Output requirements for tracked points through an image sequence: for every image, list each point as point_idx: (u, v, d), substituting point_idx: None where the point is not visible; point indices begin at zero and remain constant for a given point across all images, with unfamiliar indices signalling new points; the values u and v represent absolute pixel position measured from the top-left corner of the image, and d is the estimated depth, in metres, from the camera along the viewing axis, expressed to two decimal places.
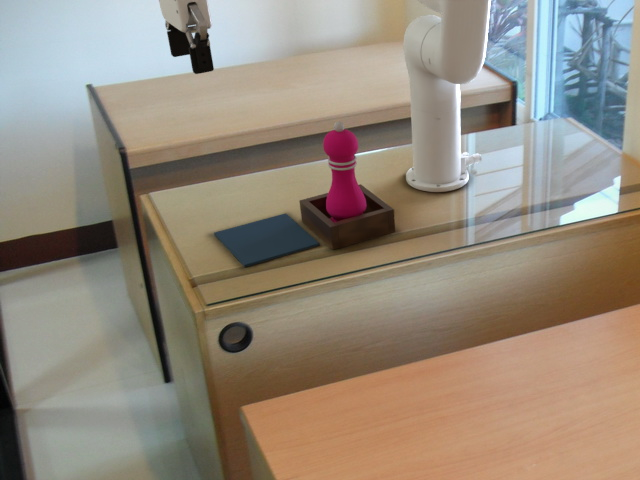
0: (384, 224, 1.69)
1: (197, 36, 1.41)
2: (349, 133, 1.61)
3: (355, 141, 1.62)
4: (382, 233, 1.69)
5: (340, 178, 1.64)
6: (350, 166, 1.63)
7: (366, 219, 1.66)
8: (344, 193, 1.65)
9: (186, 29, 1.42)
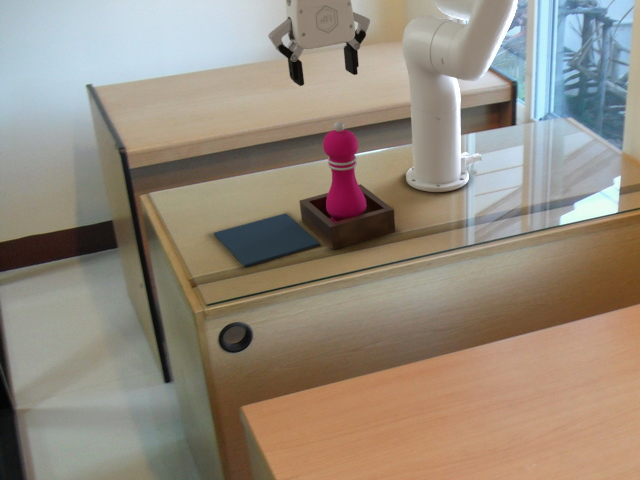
0: (384, 224, 1.69)
1: None
2: (349, 133, 1.61)
3: (355, 141, 1.62)
4: (382, 233, 1.69)
5: (340, 178, 1.64)
6: (350, 166, 1.63)
7: (366, 219, 1.66)
8: (344, 193, 1.65)
9: (290, 39, 1.50)
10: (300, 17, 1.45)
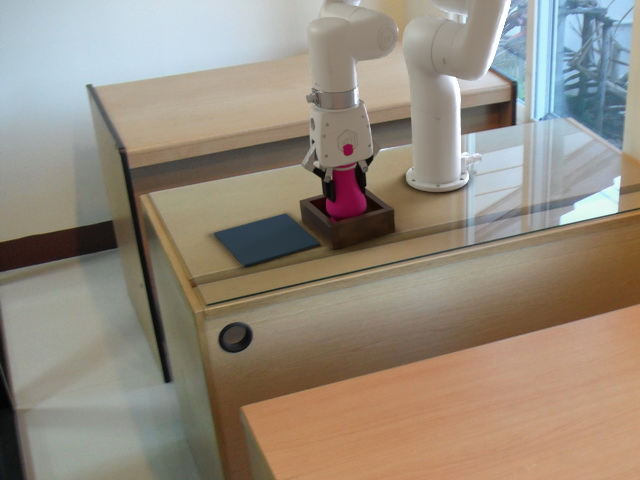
0: (384, 224, 1.69)
1: None
2: None
3: None
4: (382, 233, 1.69)
5: (340, 178, 1.64)
6: (350, 166, 1.63)
7: (366, 219, 1.66)
8: (344, 193, 1.65)
9: None
10: (323, 141, 1.58)
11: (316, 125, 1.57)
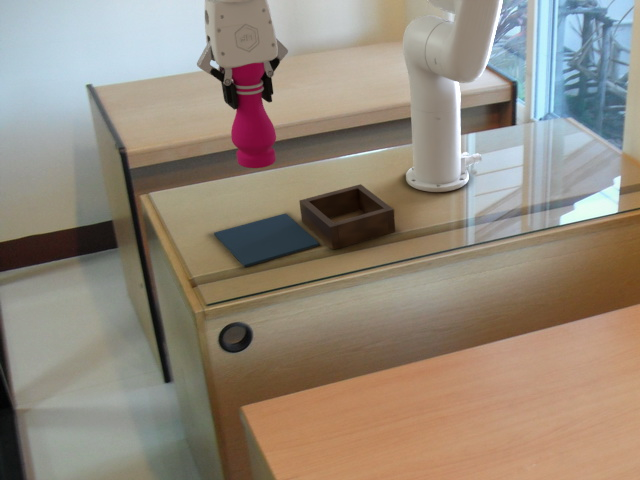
0: (384, 224, 1.69)
1: None
2: None
3: None
4: (382, 233, 1.69)
5: (244, 104, 1.51)
6: (255, 90, 1.50)
7: (366, 219, 1.66)
8: (248, 120, 1.52)
9: None
10: (218, 36, 1.42)
11: (210, 17, 1.41)
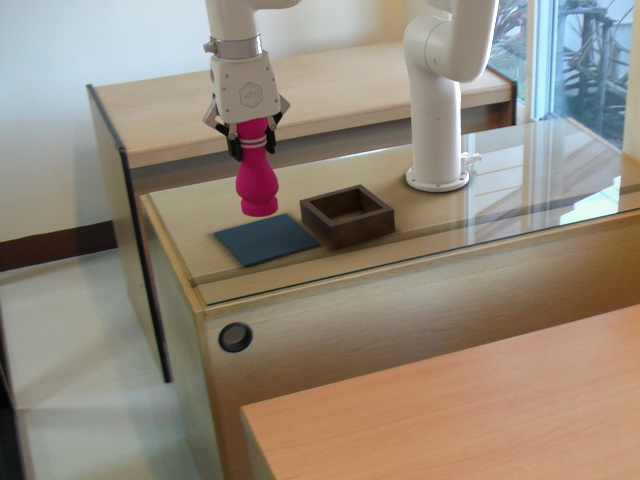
0: (384, 224, 1.69)
1: None
2: None
3: None
4: (382, 233, 1.69)
5: (248, 157, 1.56)
6: (258, 144, 1.55)
7: (366, 219, 1.66)
8: (252, 172, 1.57)
9: None
10: (223, 94, 1.47)
11: (215, 77, 1.46)
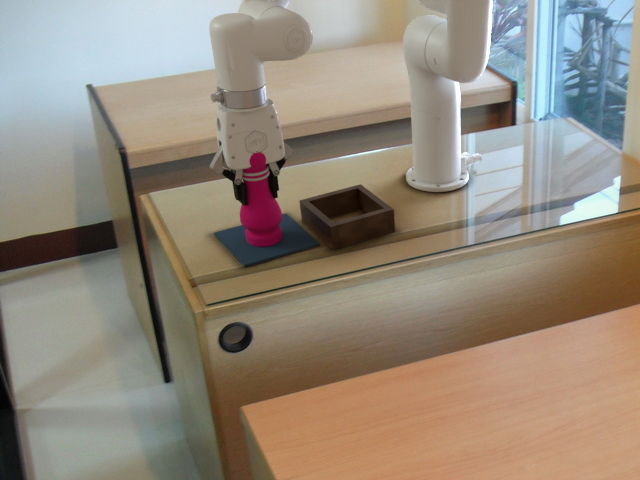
0: (384, 224, 1.69)
1: None
2: None
3: None
4: (382, 233, 1.69)
5: (251, 189, 1.59)
6: (261, 177, 1.58)
7: (366, 219, 1.66)
8: (256, 204, 1.60)
9: None
10: (229, 142, 1.52)
11: (222, 125, 1.51)
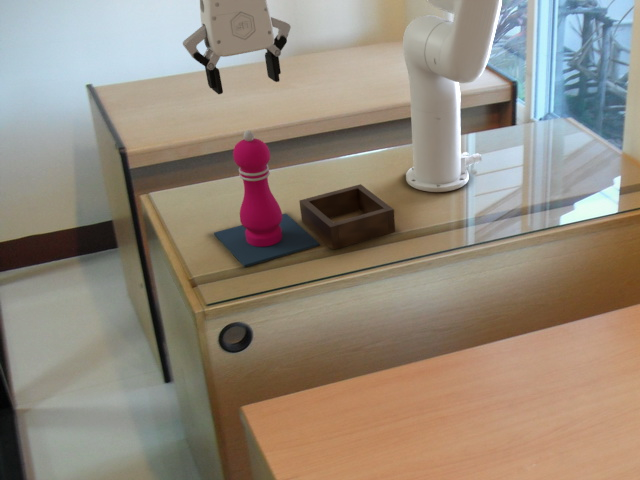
0: (384, 224, 1.69)
1: None
2: (259, 143, 1.56)
3: (265, 151, 1.56)
4: (382, 233, 1.69)
5: (251, 189, 1.59)
6: (261, 177, 1.58)
7: (366, 219, 1.66)
8: (256, 204, 1.60)
9: (206, 46, 1.46)
10: (214, 24, 1.41)
11: (205, 5, 1.40)
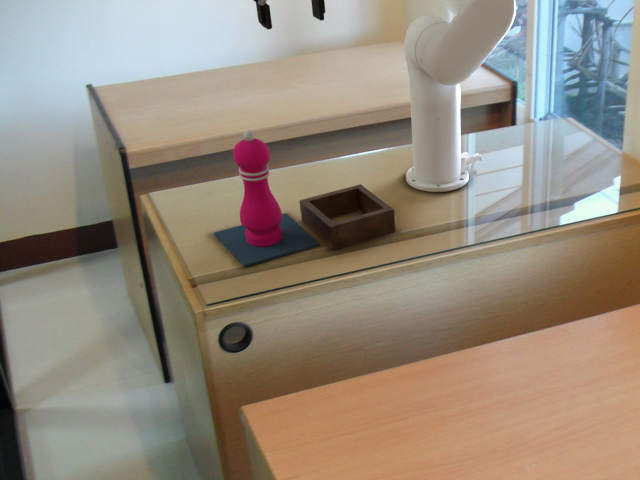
0: (384, 224, 1.69)
1: None
2: (259, 143, 1.56)
3: (265, 151, 1.56)
4: (382, 233, 1.69)
5: (251, 189, 1.59)
6: (261, 177, 1.58)
7: (366, 219, 1.66)
8: (256, 204, 1.60)
9: None
10: None
11: None
